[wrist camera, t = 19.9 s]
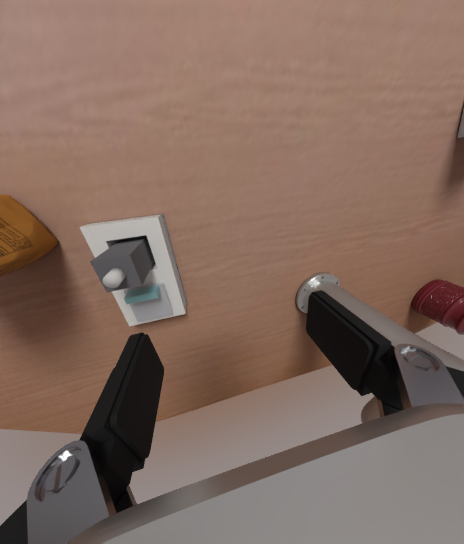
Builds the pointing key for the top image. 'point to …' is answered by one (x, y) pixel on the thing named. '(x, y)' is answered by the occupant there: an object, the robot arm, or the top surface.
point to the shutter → (148, 301)
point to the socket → (164, 265)
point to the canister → (442, 304)
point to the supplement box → (461, 127)
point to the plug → (124, 264)
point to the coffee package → (21, 236)
